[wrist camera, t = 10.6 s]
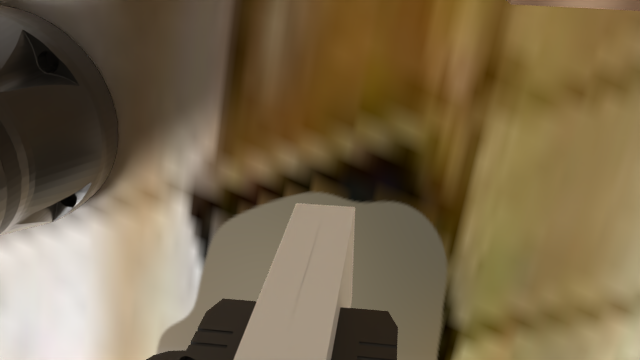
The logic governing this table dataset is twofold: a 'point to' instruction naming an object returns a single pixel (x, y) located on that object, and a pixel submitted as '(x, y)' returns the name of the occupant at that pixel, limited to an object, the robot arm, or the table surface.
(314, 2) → the table surface
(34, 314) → the table surface
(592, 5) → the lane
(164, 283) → the table surface
